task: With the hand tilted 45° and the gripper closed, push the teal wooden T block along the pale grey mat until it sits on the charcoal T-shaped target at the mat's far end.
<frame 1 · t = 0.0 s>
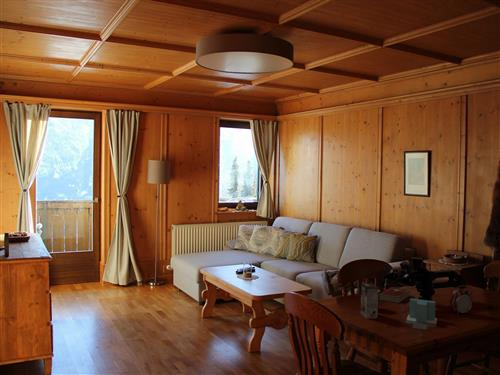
hand: (389, 278, 256), 17 cm above the table, tool horizontal, fingers open, 9 cm apart
coffee mug: (371, 308, 257), on the table
T block: (421, 319, 237), resting on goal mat
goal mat: (420, 324, 229), on the table
coffee box: (368, 316, 242), on the table
alarm clock: (461, 313, 249), on the table
hardcover book: (394, 298, 278), on the table
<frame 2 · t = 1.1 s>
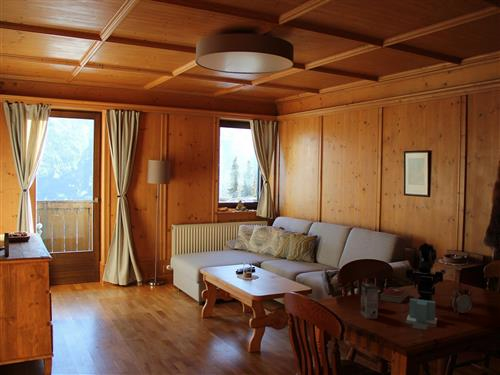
hand: (423, 288, 246), 14 cm above the table, tool tilted 45°, fingers open, 8 cm apart
nothing on the table moved.
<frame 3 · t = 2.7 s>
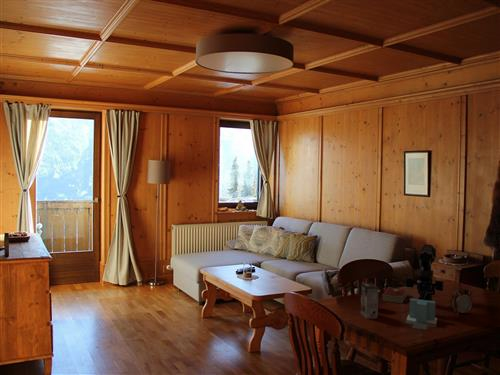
hand: (423, 297, 244), 9 cm above the table, tool tilted 45°, fingers closed
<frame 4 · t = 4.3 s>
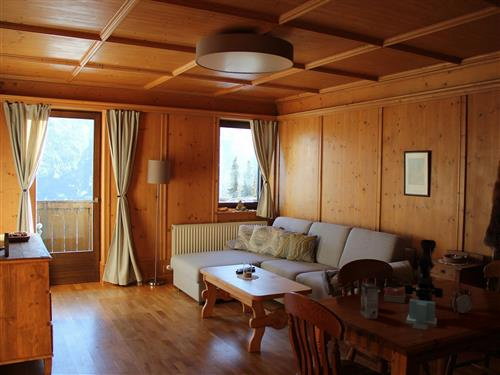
hand: (422, 305, 239), 7 cm above the table, tool tilted 45°, fingers closed, pressing on T block
T block: (421, 319, 236), resting on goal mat, touching gripper
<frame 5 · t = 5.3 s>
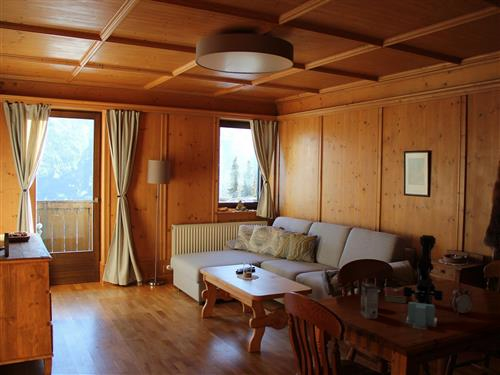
hand: (421, 308, 233), 7 cm above the table, tool tilted 45°, fingers closed
T block: (420, 323, 231), resting on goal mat
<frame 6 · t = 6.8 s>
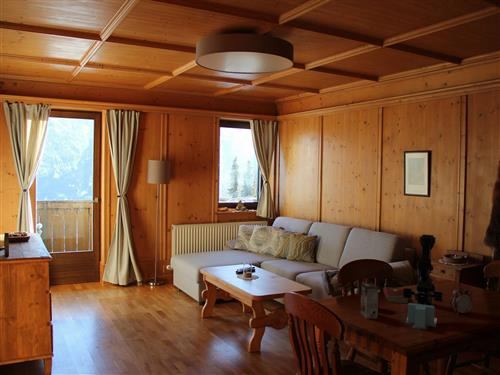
hand: (421, 309, 232), 7 cm above the table, tool tilted 45°, fingers closed
T block: (420, 324, 229), resting on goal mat
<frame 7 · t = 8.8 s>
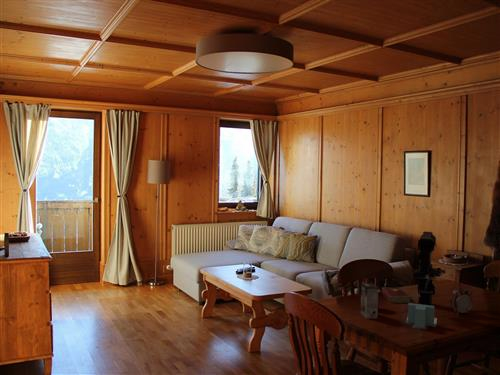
hand: (424, 291, 248), 12 cm above the table, tool pointing down, fingers closed
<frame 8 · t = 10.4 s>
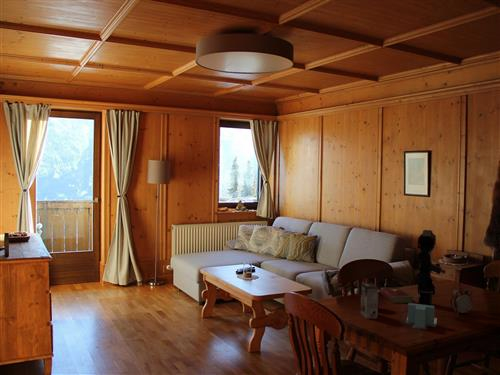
hand: (424, 287, 250), 13 cm above the table, tool pointing down, fingers closed
at the end: T block 0.1 cm off-centre on the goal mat, point 0.3 cm above the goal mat's base; T block tilted 0°; T block moved 9.2 cm from its start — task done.
